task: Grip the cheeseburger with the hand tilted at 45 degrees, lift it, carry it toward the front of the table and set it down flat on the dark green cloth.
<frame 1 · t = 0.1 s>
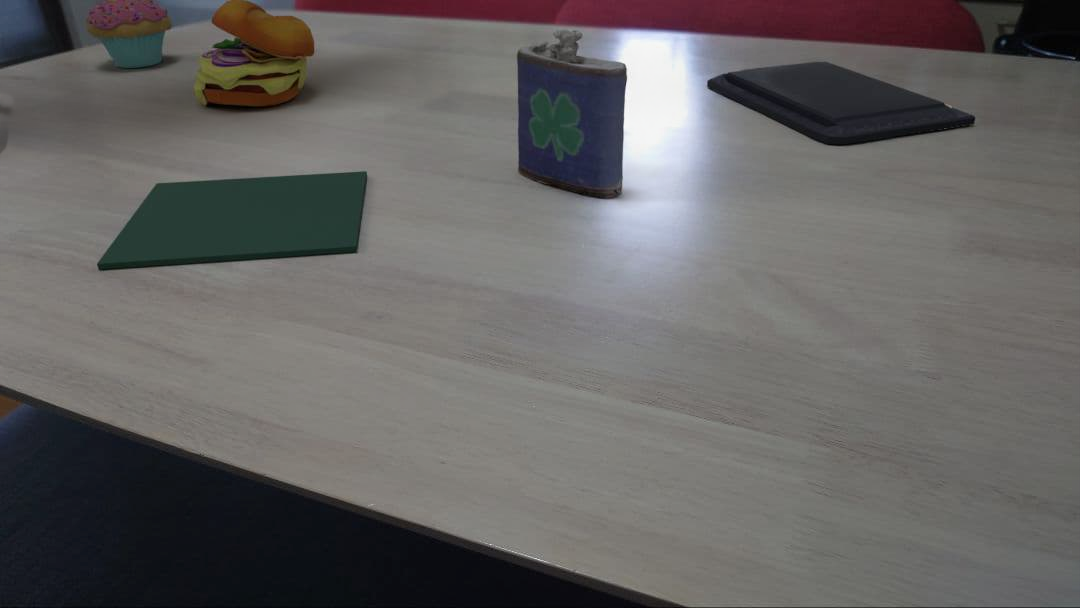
wallet: (829, 106, 76), on the table
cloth: (248, 217, 55), on the table
cupcake: (139, 64, 93), on the table
flask: (566, 184, 60), on the table
cheeseburger: (260, 99, 80), on the table
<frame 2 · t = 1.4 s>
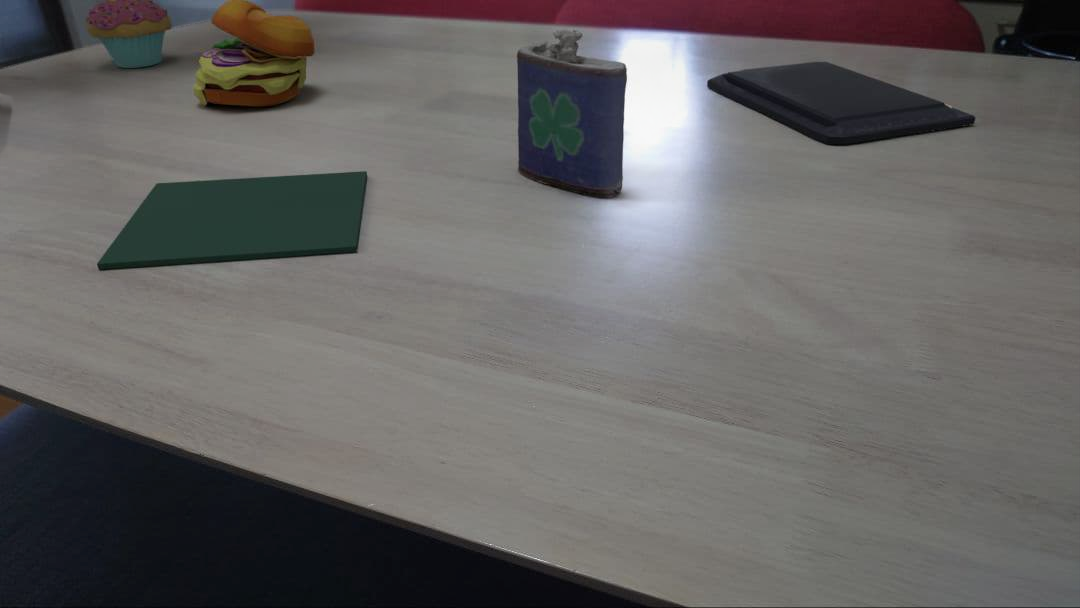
nothing on the table moved.
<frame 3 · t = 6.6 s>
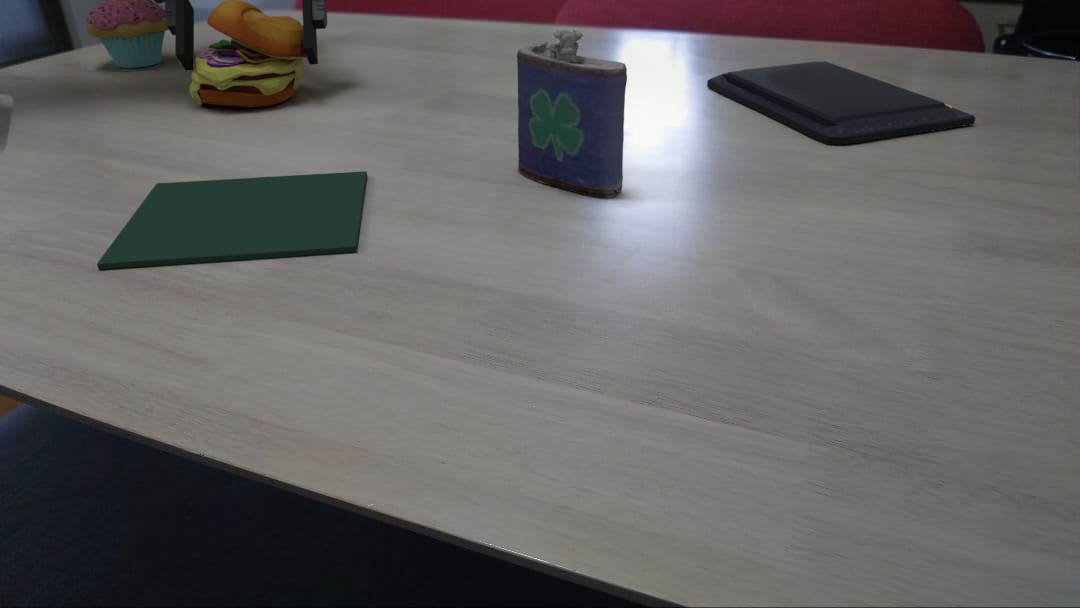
hand: (248, 59, 75), 4 cm above the table, tool tilted 45°, fingers closed on cheeseburger, 11 cm apart
cheeseburger: (256, 99, 80), on the table, touching gripper
everything else where it was.
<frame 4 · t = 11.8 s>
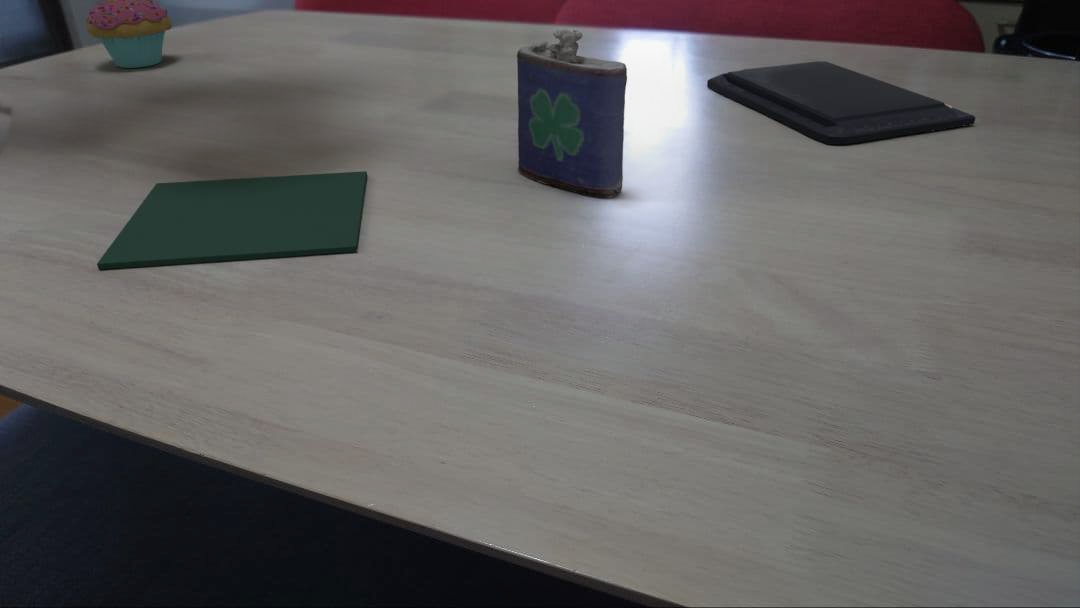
when the fingers open (5 cm above the table, at t = 17.0 s): cheeseburger stays where it is, resting on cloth.
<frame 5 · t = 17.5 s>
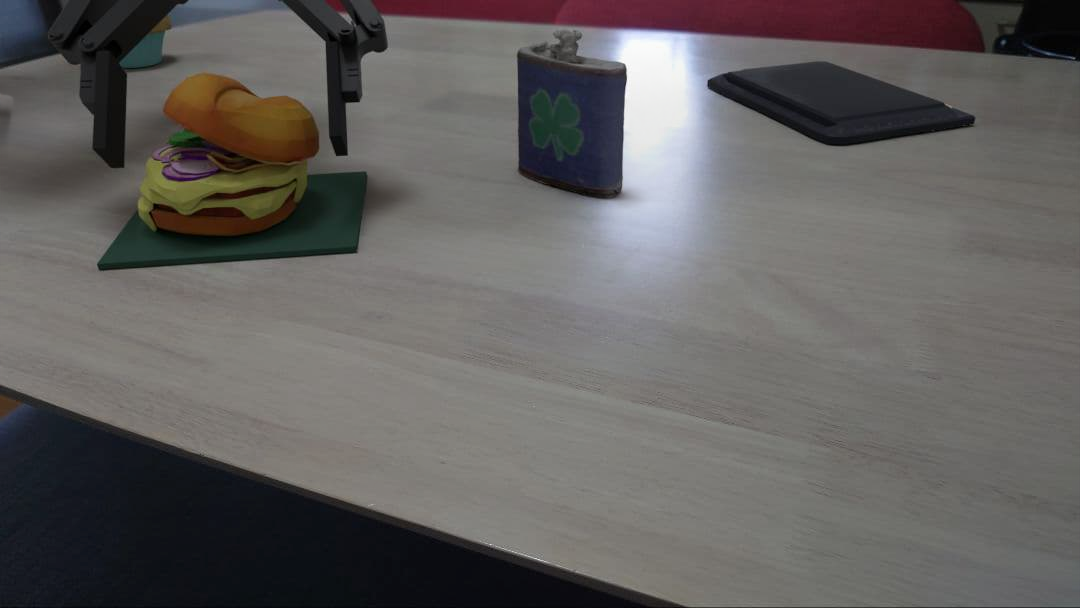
hand: (225, 153, 50), 5 cm above the table, tool tilted 45°, fingers open, 13 cm apart
cheeseburger: (238, 215, 54), resting on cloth
everything else where it was.
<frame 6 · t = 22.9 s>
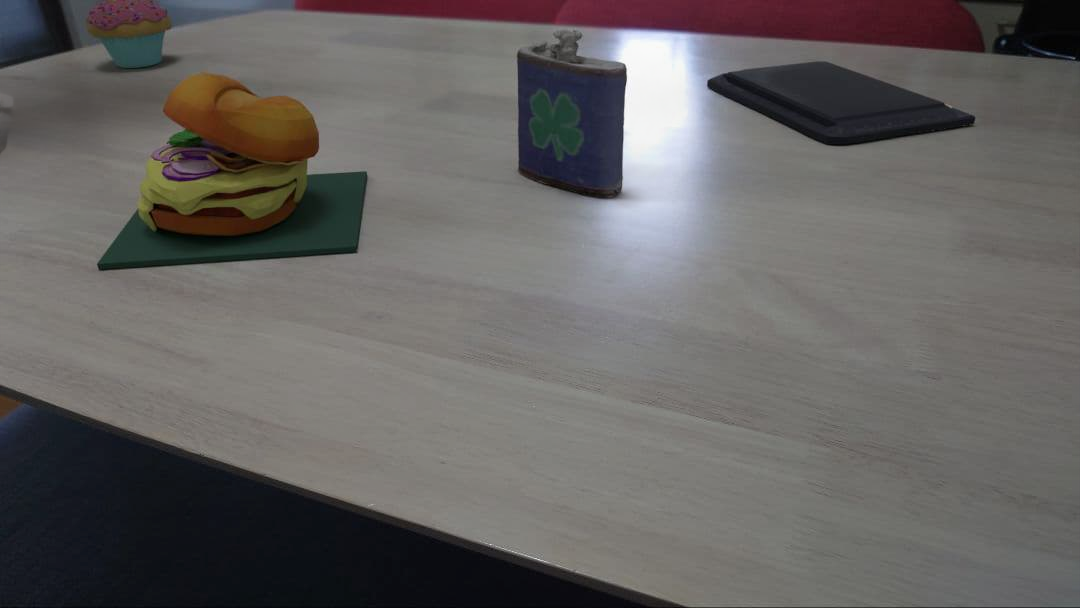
nothing on the table moved.
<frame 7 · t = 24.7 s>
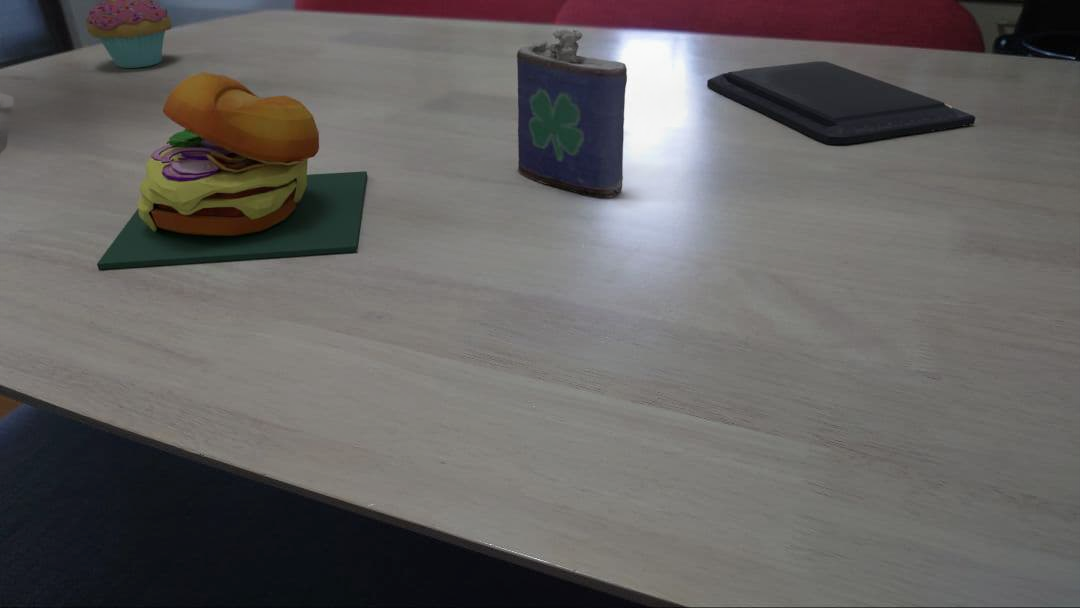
nothing on the table moved.
at the end: cheeseburger inside the target area on the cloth (0.6 cm from its centre), point 0.2 cm above the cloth's base; cheeseburger tilted 0°; the gripper is holding nothing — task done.
